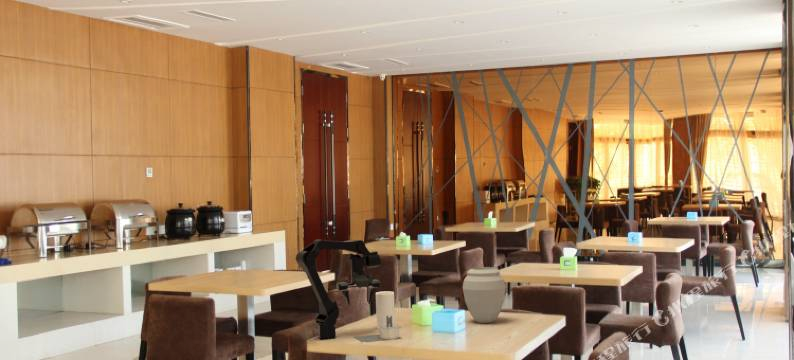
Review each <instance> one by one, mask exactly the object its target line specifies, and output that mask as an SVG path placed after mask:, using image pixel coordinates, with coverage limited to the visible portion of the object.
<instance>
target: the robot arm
mask: <svg viewBox="0 0 794 360" xmlns="http://www.w3.org/2000/svg"><path fill="white" fill-rule="evenodd" d="M323 250H336V251H337V250H338V251H339V250H340V251H344V252H349V254H348V255H347V256H346V257H345V258H346V260H350V275H351V277H350V278H351V280H350V282H349V283H348V282H346V281H341V282H336V284H335V289H336V290H338V291H339V292H341V293H342V294H343V297H344V299H345V301H346V304H347V306H348V307H350V304H351V303H350V296H349V295H350V294H349V293H350V292H349V291H350V290H349V288H350V289H351V288H359V289H361V288H367V303H368V305H370V304H371V301H372V300H373V299H372V298H373V296H374V293H375V291H376V290H378V288H381V284H382V283H381V281H380V280H379V279H373V275H371V274H369V275H366V270H365V268H367V269H370V268H376V267H377V268H378V267H380V265H381V264H382V263H381V261H382V260H381V258H380V255H379V253H378V251H373V250H372V251H369V249H368V248H367V246H366V243H365V242H364V240H362V239H349V240H344V241H341V240H340V241H339V240H323V239H315V240H314V241H312V242H311V243H310V244H309V245H307V246H306V247H305V248H303V250H299V252H297V254H296V255H295V261H296V263H297V264H298V266H299V267H300V269H301V270H302V271H303V272H304V273H305V274H306V277H307V279H308V281H309V284H310V285H311V288H312V290H313V292H314V294H315V297H316V299H317V301H318V311H319V314H317V316H316V317H315V319H314V320H315V323H316V324H317V331H318V332H317V333H318V336H317V338H318V340H319V341H320V340H321V341H324V340H325V341H326V340H333V339H334V340H335V339H337V338H336V336H337V335H336V327H335V326H336V324H337V320H338V319H339V316H340V307H339V306H338V304H337V301H336V300H332V299H330V297H329V295H328V292H327V290H326V288H325V286H324V284H323V282H322V279H321V277H320V274H319V272H318V270H317V260H316V259H317V258H318V257H319V256H320V254H321V252H322V251H323ZM361 255H362V256H361Z"/></svg>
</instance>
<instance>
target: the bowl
mask: <svg viewBox="0 0 794 360" xmlns="http://www.w3.org/2000/svg"><path fill="white" fill-rule="evenodd" d="M379 334H380V337H381V339H385V341H392V339H394V340H399V339H398V338H399V337H400V328H395V329H382V328H380V329H379Z"/></svg>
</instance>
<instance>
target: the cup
mask: <svg viewBox="0 0 794 360" xmlns="http://www.w3.org/2000/svg"><path fill="white" fill-rule="evenodd" d="M395 307H396V306H395V292H394V291H388V290H387V291H378V292H375V309H376V310H375V311H376V329H378V330H380V327H378V325H386V324H387V321H386V316H392V324H396V310H395V309H396V308H395Z"/></svg>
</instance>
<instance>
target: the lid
mask: <svg viewBox="0 0 794 360" xmlns="http://www.w3.org/2000/svg"><path fill="white" fill-rule="evenodd" d="M386 321H387V324H386V325H378V327H380V328H382V329H395V328H399V329H401V328H402V326H401V325H399V324H397V323H395V324H392V316H386Z"/></svg>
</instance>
